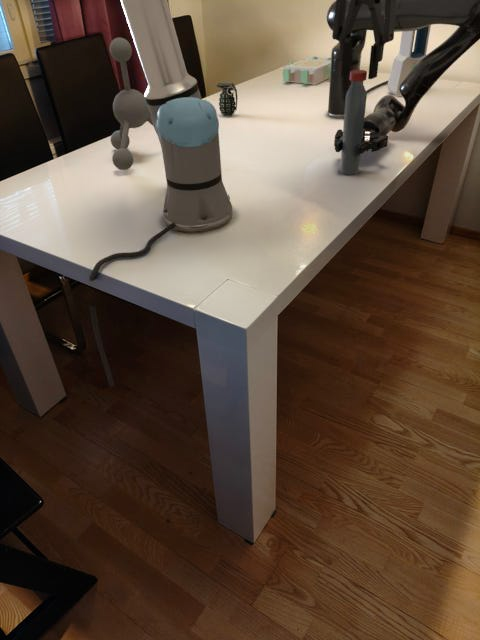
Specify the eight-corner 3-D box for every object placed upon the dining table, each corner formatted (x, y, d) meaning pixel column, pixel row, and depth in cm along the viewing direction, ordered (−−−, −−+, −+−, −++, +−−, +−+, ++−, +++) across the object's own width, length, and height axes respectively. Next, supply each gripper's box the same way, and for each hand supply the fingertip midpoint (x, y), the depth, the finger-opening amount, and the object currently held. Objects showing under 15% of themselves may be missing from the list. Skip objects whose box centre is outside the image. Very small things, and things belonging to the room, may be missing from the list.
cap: (369, 79, 111) (370, 71, 110) (358, 82, 109) (358, 74, 108) (357, 76, 113) (358, 69, 112) (345, 79, 111) (346, 71, 110)
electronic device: (396, 96, 178) (409, -2, 159) (385, 92, 183) (397, -3, 165) (426, 92, 180) (443, -5, 162) (415, 88, 186) (430, -6, 167)
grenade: (217, 117, 168) (214, 86, 162) (221, 112, 172) (219, 82, 166) (235, 117, 166) (233, 86, 160) (239, 113, 171) (238, 82, 165)
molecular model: (196, 161, 135) (182, 37, 116) (116, 176, 129) (90, 48, 110) (173, 138, 152) (159, 27, 134) (102, 149, 146) (77, 35, 128)
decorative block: (305, 54, 216) (346, 57, 206) (304, 70, 220) (345, 74, 210) (274, 66, 200) (317, 69, 190) (274, 83, 204) (316, 87, 194)
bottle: (362, 171, 124) (373, 73, 110) (349, 176, 122) (358, 76, 108) (348, 166, 127) (357, 70, 113) (336, 171, 125) (343, 73, 111)
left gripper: (318, -49, 99) (314, 75, 113) (407, -53, 89) (390, 84, 103) (337, -51, 104) (330, 69, 118) (424, -55, 94) (405, 76, 108)
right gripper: (347, 112, 131) (321, 130, 119) (400, 118, 124) (377, 137, 113) (345, 140, 135) (319, 160, 124) (396, 147, 129) (374, 169, 118)
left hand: (358, 76), depth 111 cm, fingers open, 6 cm apart
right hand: (347, 149), depth 119 cm, fingers closed on bottle, 4 cm apart
